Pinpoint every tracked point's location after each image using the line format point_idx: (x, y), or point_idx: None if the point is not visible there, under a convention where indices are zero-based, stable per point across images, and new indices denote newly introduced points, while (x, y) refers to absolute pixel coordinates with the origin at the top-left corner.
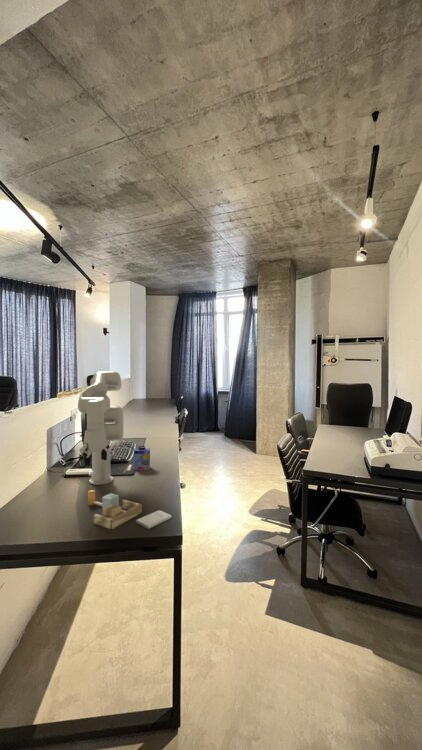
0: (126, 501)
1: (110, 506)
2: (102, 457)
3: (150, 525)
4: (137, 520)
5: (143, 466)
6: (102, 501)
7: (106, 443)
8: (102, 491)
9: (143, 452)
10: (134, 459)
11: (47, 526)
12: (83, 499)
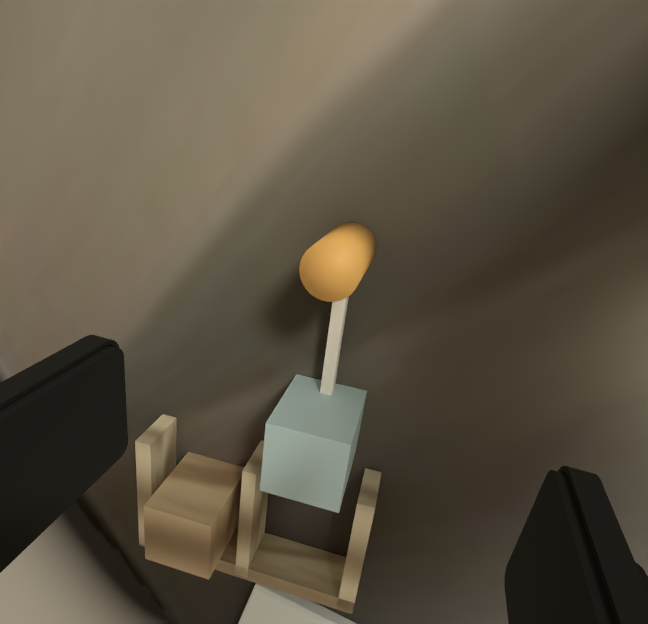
0: (354, 529)
1: (182, 529)
2: (544, 543)
3: None
4: (251, 594)
5: None
6: (277, 406)
7: None
8: (636, 150)
9: None
10: None
11: (25, 209)
12: (403, 115)
